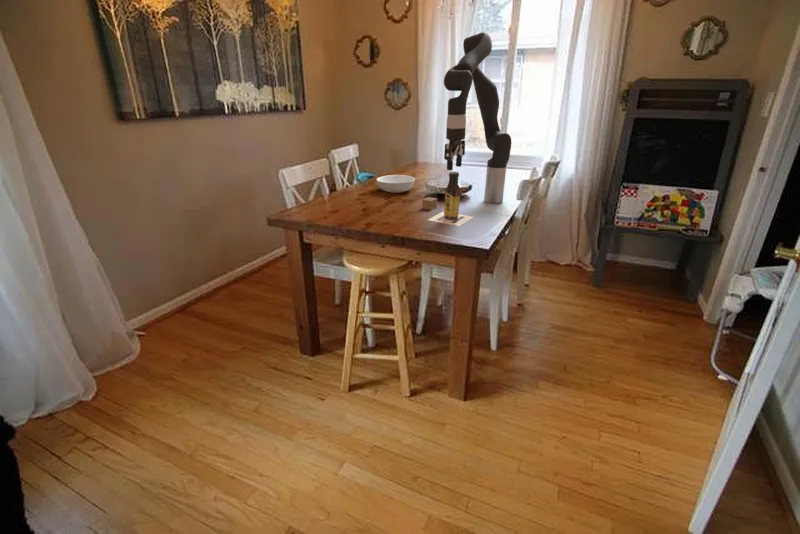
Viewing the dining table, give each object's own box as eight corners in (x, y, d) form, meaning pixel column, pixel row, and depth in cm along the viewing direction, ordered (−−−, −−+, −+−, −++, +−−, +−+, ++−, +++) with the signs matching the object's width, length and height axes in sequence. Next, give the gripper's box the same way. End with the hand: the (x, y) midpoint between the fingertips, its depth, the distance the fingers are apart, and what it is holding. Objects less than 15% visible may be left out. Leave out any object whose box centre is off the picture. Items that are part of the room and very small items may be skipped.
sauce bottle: (442, 216, 176) (444, 170, 168) (456, 215, 176) (459, 170, 168) (445, 220, 170) (447, 174, 162) (459, 220, 170) (463, 173, 162)
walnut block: (427, 207, 191) (427, 197, 189) (436, 208, 189) (437, 198, 187) (422, 209, 187) (422, 199, 185) (431, 211, 185) (432, 201, 183)
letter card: (443, 212, 183) (443, 211, 183) (473, 218, 175) (473, 216, 175) (427, 221, 171) (427, 219, 171) (459, 227, 164) (459, 226, 164)
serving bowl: (391, 184, 234) (391, 173, 231) (421, 189, 222) (422, 177, 219) (369, 192, 218) (368, 179, 215) (400, 197, 207) (400, 184, 204)
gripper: (455, 124, 164) (453, 164, 171) (439, 127, 153) (438, 170, 160) (472, 125, 161) (469, 166, 167) (457, 128, 150) (455, 172, 157)
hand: (454, 168), depth 164 cm, fingers open, 8 cm apart
